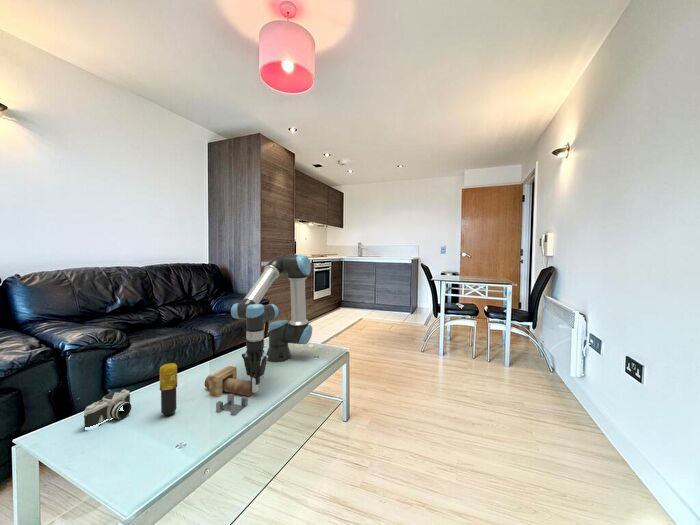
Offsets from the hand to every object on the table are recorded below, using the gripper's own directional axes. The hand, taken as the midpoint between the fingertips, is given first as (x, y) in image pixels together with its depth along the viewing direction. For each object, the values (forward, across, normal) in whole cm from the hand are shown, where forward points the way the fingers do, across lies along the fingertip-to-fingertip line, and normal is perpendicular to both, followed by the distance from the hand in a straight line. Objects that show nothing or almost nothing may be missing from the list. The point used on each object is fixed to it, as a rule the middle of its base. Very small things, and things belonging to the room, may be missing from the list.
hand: (255, 390), depth 126 cm
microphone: (+3, -27, -23) cm, 36 cm away
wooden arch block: (+2, -18, 0) cm, 18 cm away
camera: (+3, -42, -32) cm, 52 cm away
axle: (+2, -14, 0) cm, 14 cm away
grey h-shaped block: (+2, -3, -12) cm, 13 cm away
